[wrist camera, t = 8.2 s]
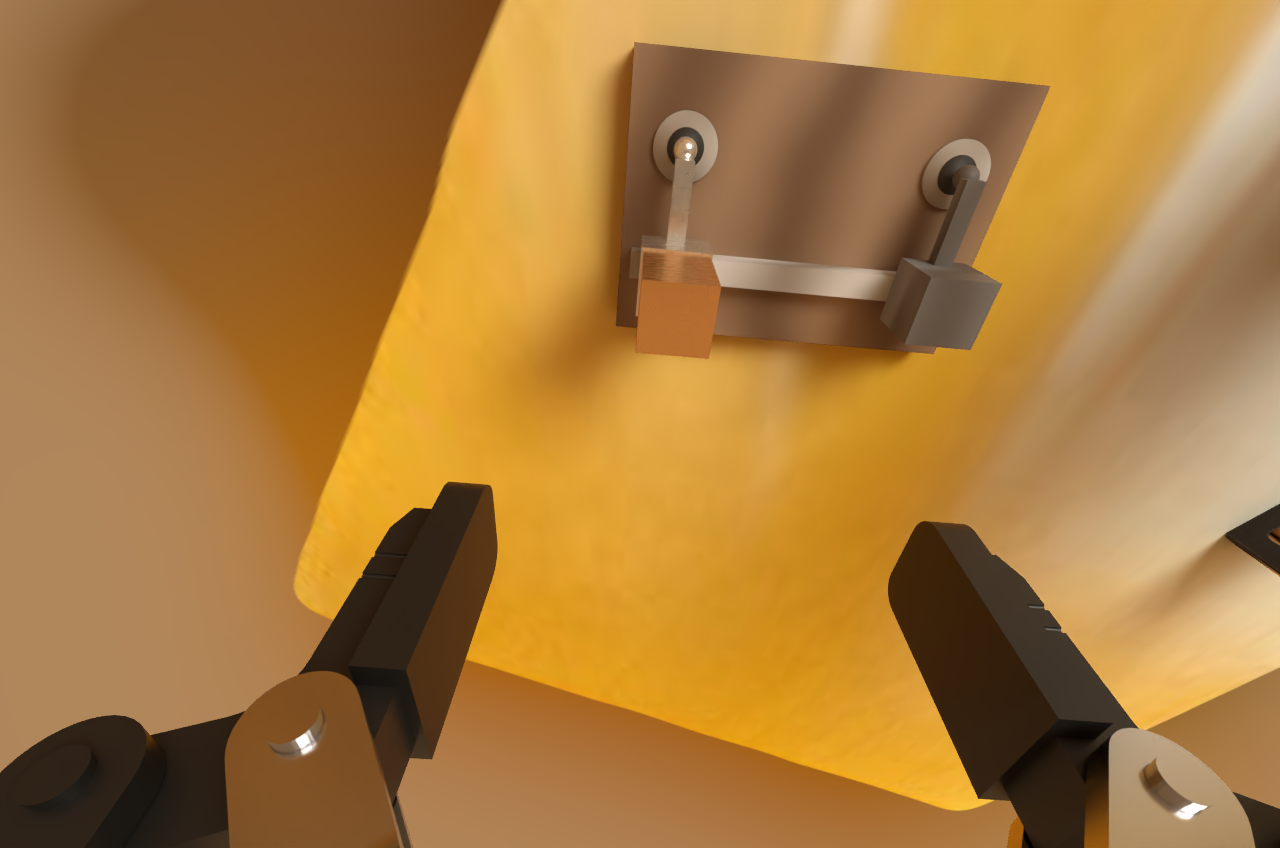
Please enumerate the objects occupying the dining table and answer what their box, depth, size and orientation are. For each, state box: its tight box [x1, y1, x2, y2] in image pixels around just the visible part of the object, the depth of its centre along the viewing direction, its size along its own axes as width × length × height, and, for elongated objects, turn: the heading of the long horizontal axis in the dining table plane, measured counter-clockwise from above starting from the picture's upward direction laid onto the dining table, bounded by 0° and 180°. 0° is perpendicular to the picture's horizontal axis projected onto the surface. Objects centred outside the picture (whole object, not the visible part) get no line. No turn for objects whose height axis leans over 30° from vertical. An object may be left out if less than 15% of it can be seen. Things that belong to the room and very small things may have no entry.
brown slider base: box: [616, 42, 1050, 354], centre depth 23 cm, size 17×12×6 cm
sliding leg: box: [636, 136, 721, 359], centre depth 21 cm, size 3×7×7 cm, turn 175°
